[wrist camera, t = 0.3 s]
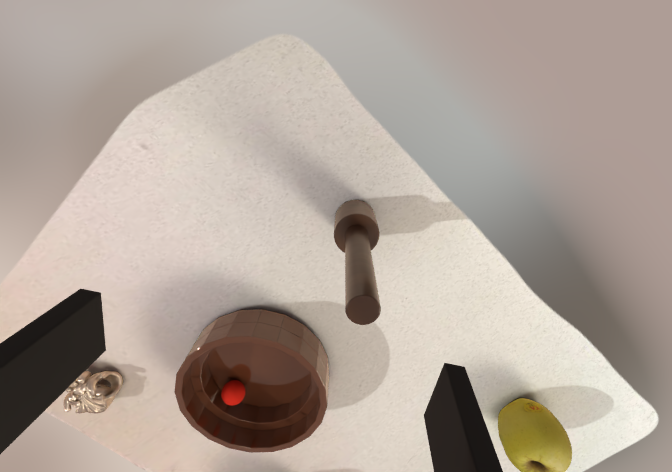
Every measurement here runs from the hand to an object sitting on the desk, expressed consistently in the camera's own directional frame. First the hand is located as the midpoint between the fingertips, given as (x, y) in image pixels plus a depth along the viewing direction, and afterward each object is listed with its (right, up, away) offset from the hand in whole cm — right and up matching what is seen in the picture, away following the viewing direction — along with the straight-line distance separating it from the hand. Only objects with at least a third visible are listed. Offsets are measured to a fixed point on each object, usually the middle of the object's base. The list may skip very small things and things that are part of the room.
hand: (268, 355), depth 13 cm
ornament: (-30, -15, +35) cm, 48 cm away
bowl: (-7, -12, +33) cm, 36 cm away
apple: (+28, -20, +35) cm, 49 cm away
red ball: (-11, -16, +32) cm, 37 cm away
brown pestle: (+5, +6, +25) cm, 26 cm away
